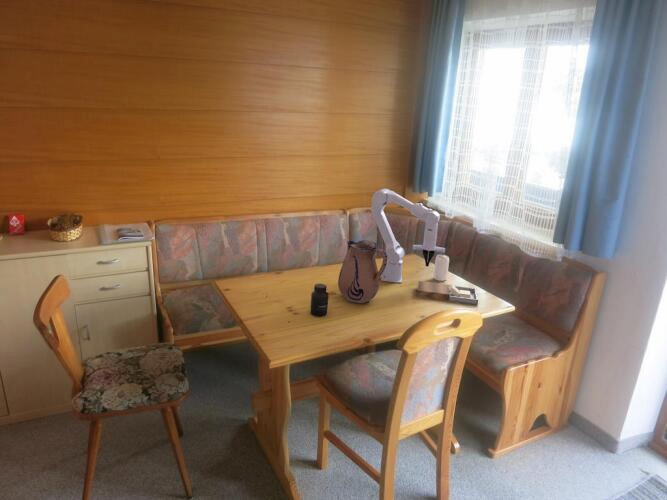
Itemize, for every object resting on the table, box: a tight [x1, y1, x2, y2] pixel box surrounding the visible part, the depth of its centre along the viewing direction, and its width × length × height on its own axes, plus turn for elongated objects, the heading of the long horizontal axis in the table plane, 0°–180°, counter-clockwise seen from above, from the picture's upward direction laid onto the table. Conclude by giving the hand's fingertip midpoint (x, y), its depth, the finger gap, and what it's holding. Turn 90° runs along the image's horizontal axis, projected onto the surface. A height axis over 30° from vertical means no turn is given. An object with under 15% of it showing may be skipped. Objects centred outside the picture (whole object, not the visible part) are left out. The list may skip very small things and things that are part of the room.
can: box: [433, 253, 450, 282], centre depth 236 cm, size 6×6×12 cm
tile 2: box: [459, 290, 470, 298], centre depth 216 cm, size 4×4×2 cm
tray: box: [448, 285, 479, 306], centre depth 216 cm, size 12×14×2 cm
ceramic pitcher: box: [337, 239, 388, 304], centre depth 204 cm, size 18×21×25 cm
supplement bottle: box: [309, 283, 329, 318], centre depth 191 cm, size 7×7×12 cm
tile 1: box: [449, 283, 460, 297], centre depth 216 cm, size 4×4×2 cm
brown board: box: [416, 280, 451, 302], centre depth 218 cm, size 14×12×3 cm
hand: (427, 265), depth 225 cm, fingers closed
